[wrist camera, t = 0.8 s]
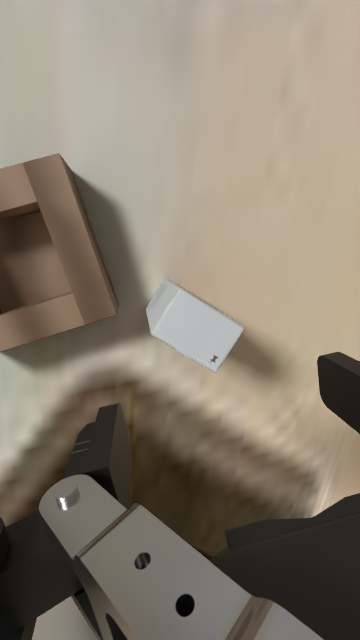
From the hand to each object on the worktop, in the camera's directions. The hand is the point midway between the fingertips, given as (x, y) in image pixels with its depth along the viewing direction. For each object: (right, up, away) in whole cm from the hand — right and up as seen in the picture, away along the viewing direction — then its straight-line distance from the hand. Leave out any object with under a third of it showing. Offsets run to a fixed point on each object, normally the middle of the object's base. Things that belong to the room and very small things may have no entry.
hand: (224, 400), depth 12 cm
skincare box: (-2, +5, +22) cm, 22 cm away
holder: (-17, +9, +18) cm, 27 cm away
